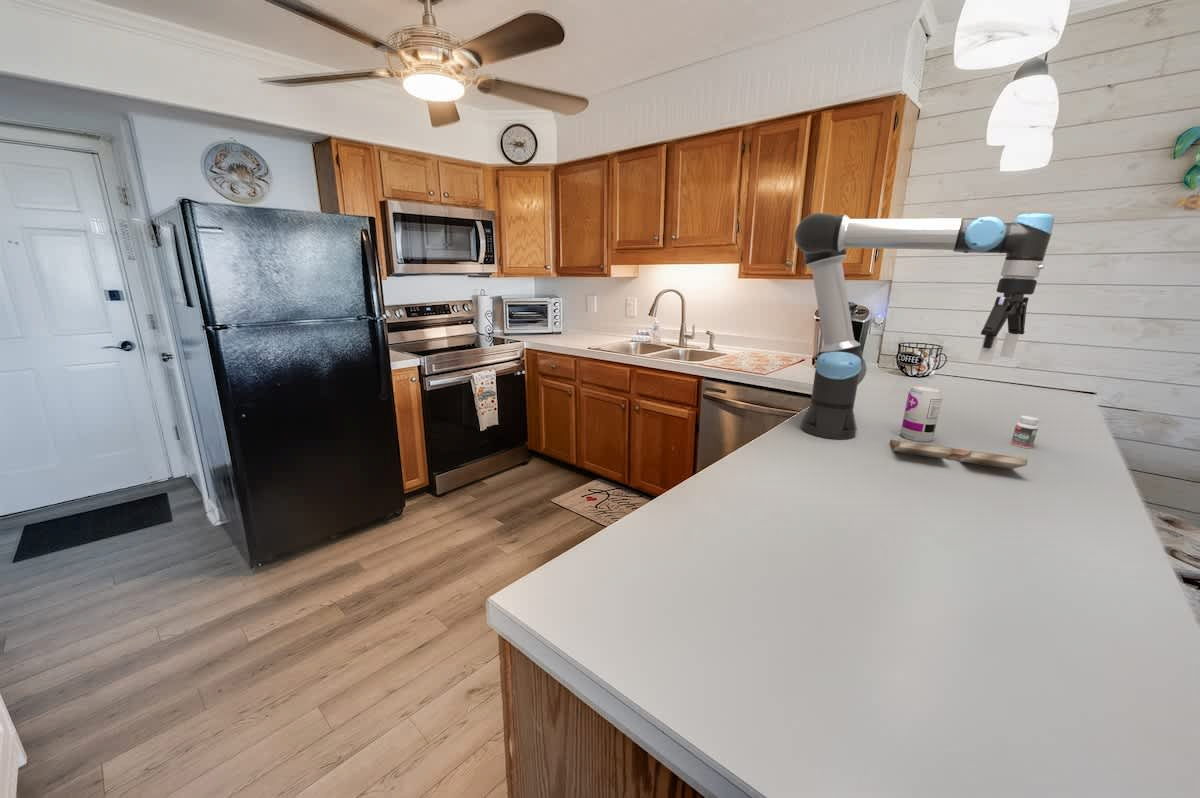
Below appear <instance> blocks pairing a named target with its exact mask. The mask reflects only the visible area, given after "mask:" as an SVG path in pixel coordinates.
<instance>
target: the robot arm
mask: <svg viewBox="0 0 1200 798" xmlns="http://www.w3.org/2000/svg"><path fill="white" fill-rule="evenodd" d="M1054 223H1055V216H1054V215H1053V214H1050V213H1024V214H1019V215H1018V216H1016V218H1015V220H1014V222H1003V221H1002V220H1001V219H999V218H998V217H995V216H983V217H982V216H981V217H976V218H975V217H973V218H972V217H968V218H965V217H964V218H962V217H961V218H960V217H955V218H954V217H950V218H948V217H946V218H945V217H941V218H939V217H937V218H935V217H933V218H931V217H930V218H928V217H927V218H850V217H849V216H848V215H847V214H832V213H831V214H830V213H822V212H817V213H812V214H809V215H807V216H806V217H804V218H803V219H802V220H801V221H800V222H799V223H798V225H797V226H796V230H795V232H794V240H795V244H796V246H797V248H798V249H799V250H800V251H801V252H803V256H804V264H805V267H807V268H808V269H810V270H811V271H812V272H811V273H812V279H813V285H814V291H815V297H816V304H817V311H818V314H819V322H820V327H821V328H820V329H821V333H822V338H823V346H822V347H821V349H820V350H819V354H820V355H819V356H818V357H817V359H816V363H815V372H814V378H813V383H812V384H813V386H812V392H811V397H810V398H811V399H810V404H809V406H808V408H807V410H806V411H805V414H804V415H803V417H802V419H801V424H800V429H802V431H804V432H805V433H808V434H810V435H812V436H813V435H814V436H816V437H820V438H824V439H832V440H833V439H834V440H848V439H853V438H854V437H856V434H857V423H856V418H855V412H854V407H855V402H856V396H857V389H858V385H859V384H860V383H861V382H862V381H863V380H864V378H865V376H866V374H867V373H866V372H867V363H866V362H867V361H865V359H864V357H863V352H862V347H861V345H862V344H861V343H860V342H858V341H857V340H855V336H854V331H853V324H852V317H851V311H850V306H849V299H848V291H847V285H846V279H845V273H844V266H843V262H844V260H845V259H846V258H847V257H848V256H847V250H846V248H847V249H889V250H890V249H891V250H900V249H901V250H932V251H934V250H937V251H939V250H940V251H941V250H942V251H944V250H945V251H953V252H955V253H963V254H968V253H971V254H973V253H976V254H977V253H978V254H1006V255H1005V258H1004V262H1003V265H1002V269H1001V271H1000V276H1002V278H1000V279H999V280H998V284H997V287H996V292H997V293H1000V294H1003V295H1002V296H997V297H996V299H995V300H994V301H995V302H994V305H993V307H992V309H991V311H990V312H989V313H990V314H989V315H988V317H987V319H986V321H985V324H984V325H983V328H982V330H981V332H980V335H982V336H984V337H983V341H982V345H981V348H980V352H979V355H978V361H979V360H980V361H983V362H984V361H985V362H992V361H993V357H994V354H995V351H996V347H997V343H998V339H999V336H998V335H999V333H1000V331H1001V329H1002V328H1003V326H1004V325H1005V323H1006V321H1007V330H1008V332H1006V333H1005V336H1004V339H1003V342H1002V346H1001V351H1000V353H999V357H1001V358H1009V359H1013V357H1014V354H1015V351H1016V346H1017V343H1018V340H1019V337H1020V335H1024V334H1025V332H1026V331H1025V325H1026V318H1027V317H1026V316H1027V308H1028V302H1029V297H1027V296H1025V295H1033V294H1034V293H1035V289H1036V286H1037V282H1038V281H1037V279H1035V278H1039V275H1040V272H1041V270H1043V269H1044V267H1045V266H1044V264H1043V262H1044V259H1045V256H1046V252H1047V249H1048V246H1049V242H1050V240H1051V237H1052V234H1053V233H1052V232H1053V228H1054V225H1055V224H1054Z"/></svg>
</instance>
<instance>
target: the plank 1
mask: <svg viewBox="0 0 1200 798" xmlns="http://www.w3.org/2000/svg"><path fill="white" fill-rule="evenodd" d="M899 441H900V443H898V444H897V445H895V446H894V447H893V451H892V452H897V453H901V454H902V453H903V454H909V455H915V456H923V457H929V458H937V459H944V458H943V457H946V456H948V455H950V454H951V449H952V448H953V447H948V446H941V447H940V446H939V445H934V446H932V444H927V445H925V444H926V443H925V444H924V443H919V444H918V442H912V441H905V440H899ZM904 441H905V442H904ZM911 442H912V443H911ZM947 447H948V448H947Z"/></svg>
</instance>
